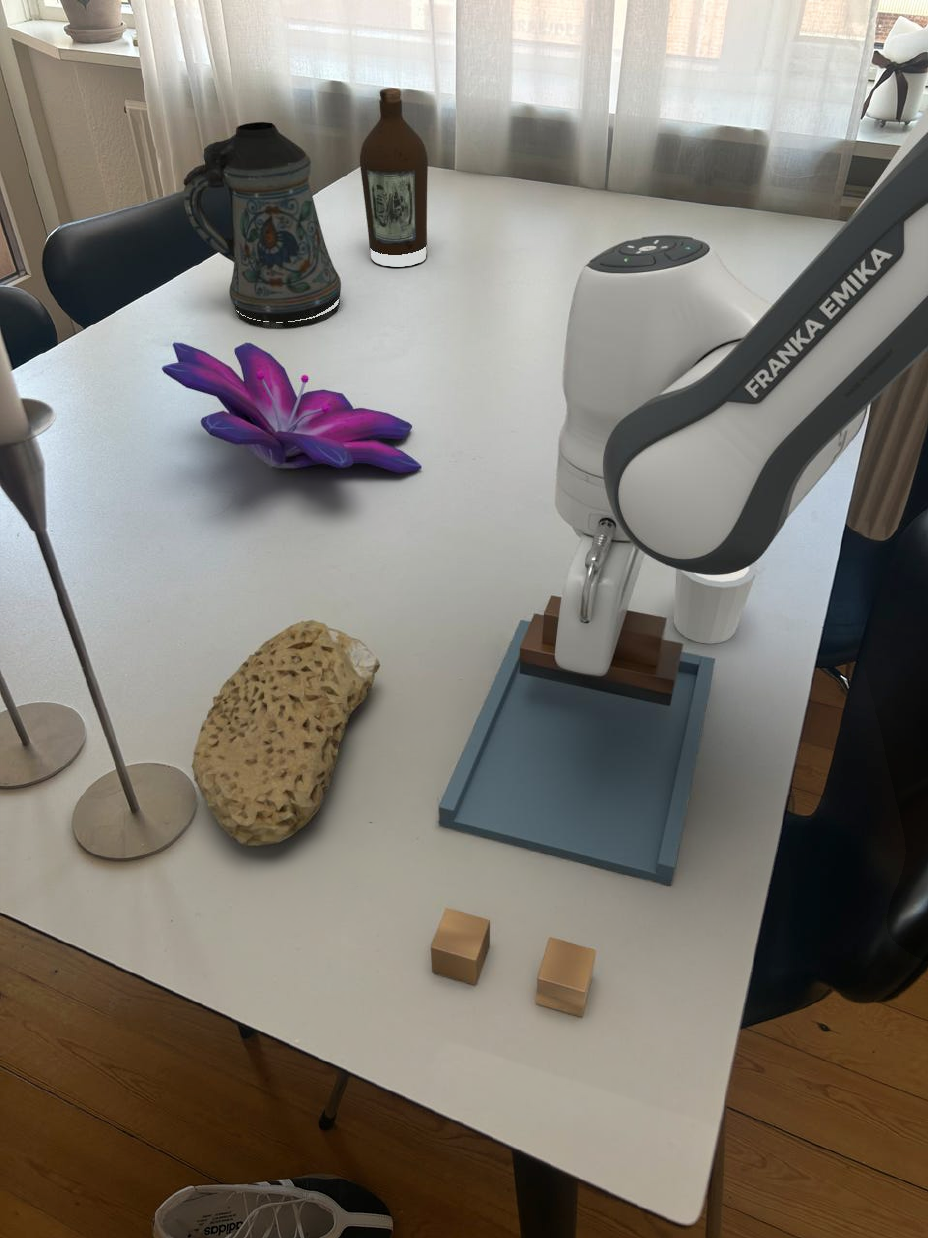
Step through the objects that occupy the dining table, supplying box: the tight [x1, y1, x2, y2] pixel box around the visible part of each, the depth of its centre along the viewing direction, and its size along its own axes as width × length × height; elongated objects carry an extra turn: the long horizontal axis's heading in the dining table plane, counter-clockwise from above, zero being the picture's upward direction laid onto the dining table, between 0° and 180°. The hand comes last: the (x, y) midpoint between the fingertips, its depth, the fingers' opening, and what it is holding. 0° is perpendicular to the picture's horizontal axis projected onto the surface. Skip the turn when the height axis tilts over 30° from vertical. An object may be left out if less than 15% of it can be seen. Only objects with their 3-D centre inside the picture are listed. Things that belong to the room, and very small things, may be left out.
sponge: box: [191, 619, 381, 846], centre depth 74 cm, size 13×8×20 cm
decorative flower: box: [161, 342, 423, 474], centre depth 108 cm, size 31×31×10 cm
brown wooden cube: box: [430, 907, 491, 986], centre depth 62 cm, size 3×3×3 cm
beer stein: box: [182, 121, 342, 330], centre depth 136 cm, size 16×19×25 cm
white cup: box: [673, 561, 758, 645], centre depth 86 cm, size 7×7×7 cm
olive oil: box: [359, 87, 429, 255], centre depth 153 cm, size 11×11×25 cm
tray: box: [438, 619, 716, 887], centre depth 76 cm, size 17×22×2 cm
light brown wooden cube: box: [535, 936, 597, 1018], centre depth 60 cm, size 3×3×3 cm
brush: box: [519, 594, 684, 706], centre depth 75 cm, size 12×4×6 cm, turn 72°
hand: (603, 637), depth 74 cm, fingers closed on brush, 2 cm apart
